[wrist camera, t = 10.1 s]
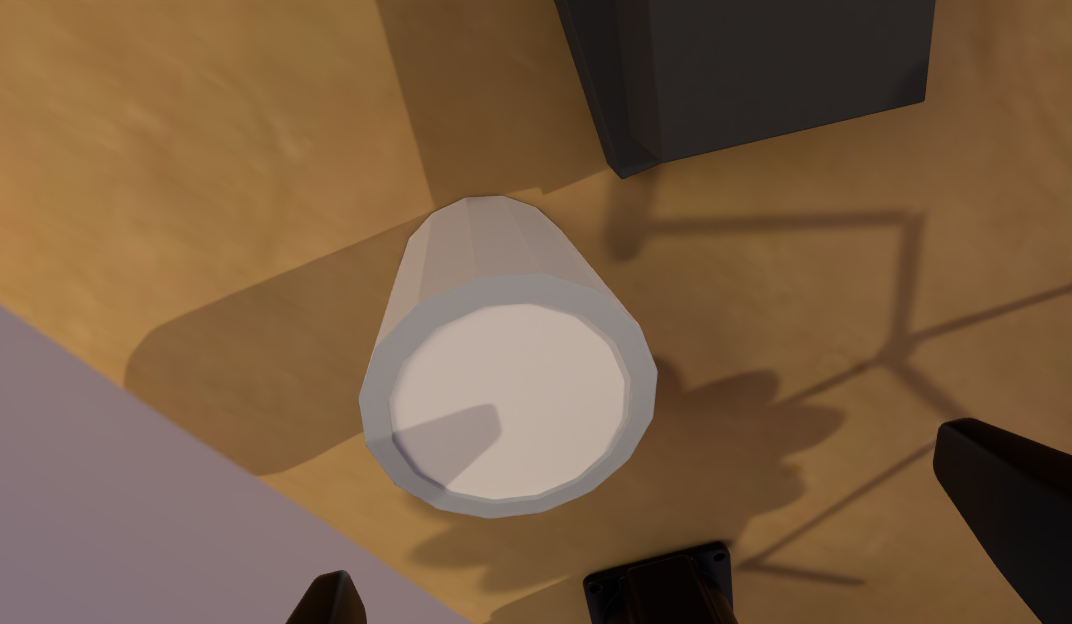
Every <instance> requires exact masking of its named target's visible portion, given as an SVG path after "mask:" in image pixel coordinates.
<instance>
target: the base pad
mask: <svg viewBox="0 0 1072 624" xmlns="http://www.w3.org/2000/svg"><path fill="white" fill-rule="evenodd" d="M554 1H555V4H556V8H557V11H558V14H559V17H560V20H561V23H562V26H563V29H564V32H565V35H566V38H567V41H568V44H569V47H570V50H571V54H572V57H573V60H574V63H575V66H576V69H577V72H578V75H579V78H580V81H581V84H582V87H583V90H584V93H585V96H586V99H587V103H588V106H589V109H590V112H591V115H592V118H593V121H594V124H595V127H596V130H597V133H598V136H599V139H600V142H601V145H602V149H603V152H604V155H605V158H606V161H607V164H608V165H609V166H610V167H611V168H612V169H613V170H614V171H615V173H616V174H617V175H618V176H619V177H620V178H621V179H625V178H627V177H629V176H632V175H634V174H637V173H639V172H641V171H644V170H646V169H648V168H651V167H653V166H656V165H658V164H660V163H663V162H661V161H660V160H659V159H658V158H657V157H656V156H654V155H653V154H652V153H651V152H650V151H649V150H647V149H646V148H645V147H644V146H643V145H642V144H640V143H639V142H638V141H637V140H636V139H634V138H633V137H632V136H631V135H630V128H629V119H628V111H627V102H626V94H625V85H624V76H623V68H622V59H621V51H620V42H619V34H618V25H617V16H616V8H615V0H554Z"/></svg>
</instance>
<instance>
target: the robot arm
mask: <svg viewBox="0 0 1072 624" xmlns="http://www.w3.org/2000/svg"><path fill="white" fill-rule="evenodd" d="M933 469H934V473H935V475H936V477H937V479H938V481H939V483H940V484H941V486H942V487H943V488H944V490H945V491H946V493H947V494H948V496H949V497H950V499H951V500H952V502H953V503H954V505H955V506H956V508H957V509H958V511H959V512H960V514H961V515H962V517H963V518H964V520H965V521H966V523H967V524H968V526H969V527H970V529H971V530H972V532H973V533H974V535H975V536H976V538H977V539H978V541H979V542H980V544H981V545H982V547H983V548H984V549H985V551H986V552H987V554H988V555H989V557H990V558H991V560H992V561H993V562H994V564H995V565H996V567H997V568H998V569H999V571H1000V572H1001V573H1002V574H1003V576H1004V577H1005V578H1006V580H1007V581H1008V582H1009V583H1010V585H1011V586H1012V587H1013V588H1014V590H1015V591H1016V592H1017V593H1018V594H1019V596H1020V597H1021V598H1022V599H1023V600H1024V602H1025V603H1026V604H1027V605H1028V607H1029V608H1030V609H1031V610H1032V611H1033V613H1034V614H1035V615H1036V616H1037V618H1038V619H1039V620H1040V621H1041V622H1042V624H1072V455H1070V454H1067V453H1064V452H1062V451H1059V450H1056V449H1054V448H1051V447H1048V446H1046V445H1043V444H1040V443H1038V442H1035V441H1033V440H1030V439H1027V438H1025V437H1022V436H1019V435H1017V434H1014V433H1011V432H1009V431H1006V430H1003V429H1001V428H998V427H995V426H993V425H990V424H988V423H985V422H982V421H980V420H977V419H974V418H961V419H957V420H953V421H949V422H945V423H943V424H942V425H941V426H940V427H939V429H938V434H937V440H936V446H935V452H934V458H933ZM583 587H584V592H585V596H586V600H587V605H588V609H589V613H590V618H591V622H592V624H738V622H737V620H736V618H735V615H734V613H733V597H732V579H731V561H730V553H729V550H728V549H727V547H726V545H725V544H724V543H723V542H714V543H710V544H706V545H702V546H698V547H695V548H691V549H687V550H683V551H679V552H675V553H671V554H668V555H664V556H660V557H656V558H652V559H648V560H644V561H641V562H637V563H633V564H629V565H625V566H621V567H617V568H614V569H610V570H606V571H602V572H598V573H594V574H591V575H589V576H587V577H586V578H585V579H584V581H583ZM286 624H367V619H366V612H365V608H364V605H363V603H362V601H361V599H360V596H359V594H358V592H357V590H356V588H355V586H354V584H353V581H352V579H351V577H350V575H349V574H348V573H347V572H346V571H344V570H340V571H335V572H332V573H327V574H323V575H320V576H318V577H317V578H316V579H315V580H314V581H313V582H312V584H311V586H310V587H309V588H308V590H307V591H306V593H305V594H304V596H303V598H302V599H301V601H300V602H299V604H298V605H297V607H296V608H295V610H294V611H293V613H292V614H291V616H290V617H289V619H288V621H287V622H286Z"/></svg>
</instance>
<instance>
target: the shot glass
mask: <svg viewBox="0 0 1072 624" xmlns="http://www.w3.org/2000/svg"><path fill="white" fill-rule="evenodd" d="M657 374H658V371H657V368H656V365H655V363H654V360H653V358H652V355H651V353H650V350H649V348H648V345H647V343H646V340H645V338H644V335H643V332H642V330H641V327H640V326H639V324H638V323H637V322H636V321H635V320H634V318H633V317H632V316H631V315H630V313H629V312H628V311H627V310H626V309H625V307H624V306H623V305H622V304H621V303H620V301H619V300H618V299H617V298H616V296H615V295H614V294H613V293H612V292H611V290H610V289H609V288H608V287H607V285H606V284H605V283H604V282H603V281H602V279H601V278H600V277H599V276H598V275H597V273H596V272H595V271H594V270H593V268H592V267H591V266H590V265H589V264H588V262H587V261H586V260H585V259H584V258H583V256H582V255H581V254H580V253H579V251H578V250H577V249H576V248H575V247H574V245H573V244H572V243H571V242H570V241H569V239H568V238H567V237H566V236H565V234H564V233H563V232H562V231H561V230H560V229H559V228H558V227H557V226H556V225H555V224H554V223H553V222H552V221H551V220H549V219H548V218H547V217H546V216H545V215H544V214H543V213H542V212H541V211H539V210H538V209H537V208H536V207H534V206H531V205H528V204H525V203H522V202H520V201H517V200H514V199H511V198H508V197H505V196H485V197H466V198H464V199H461V200H459V201H457V202H455V203H453V204H451V205H448V206H446V207H444V208H442V209H440V210H438V211H435V212H433V213H432V214H431V215H430V216H429V217H428V218H427V219H426V220H425V222H424V223H423V224H422V225H421V226H420V227H419V228H418V229H417V230H416V231H415V232H414V234H413V235H412V236H411V237H410V238H409V240H408V243H407V246H406V249H405V252H404V255H403V258H402V261H401V264H400V267H399V270H398V273H397V276H396V279H395V282H394V286H393V289H392V292H391V295H390V298H389V302H388V305H387V308H386V311H385V314H384V318H383V321H382V324H381V327H380V330H379V334H378V337H377V340H376V343H375V346H374V350H373V353H372V356H371V359H370V362H369V366H368V369H367V372H366V375H365V378H364V382H363V385H362V388H361V391H360V394H359V398H358V399H359V405H360V411H361V417H362V423H363V429H364V435H365V441H366V446H367V448H368V449H369V450H370V452H371V453H372V454H373V456H374V457H375V458H376V460H377V461H378V462H379V464H380V465H381V466H382V468H383V469H384V470H385V472H386V473H387V474H388V476H389V477H390V478H391V480H392V481H393V482H394V484H395V485H397V486H398V487H400V488H402V489H404V490H405V491H407V492H409V493H411V494H412V495H414V496H416V497H418V498H419V499H421V500H423V501H425V502H426V503H428V504H430V505H432V506H433V507H435V508H437V509H439V510H445V511H450V512H456V513H461V514H467V515H472V516H478V517H483V518H489V519H491V518H500V517H509V516H517V515H526V514H534V513H542V512H545V511H547V510H549V509H552V508H554V507H557V506H559V505H561V504H564V503H566V502H568V501H571V500H573V499H575V498H578V497H580V496H583V495H585V494H587V493H590V492H591V491H592V490H594V489H595V488H596V487H597V486H598V485H599V484H601V483H602V482H603V481H604V480H605V479H607V478H608V477H609V476H610V475H611V474H612V473H614V472H615V471H616V470H617V469H618V468H620V467H621V466H622V465H623V464H624V463H625V462H627V461H628V460H629V459H630V457H631V455H632V453H633V452H634V450H635V448H636V446H637V445H638V443H639V441H640V439H641V438H642V436H643V434H644V433H645V431H646V429H647V427H648V426H649V424H650V422H651V420H652V419H653V413H654V403H655V393H656V383H657Z"/></svg>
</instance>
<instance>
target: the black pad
mask: <svg viewBox="0 0 1072 624" xmlns="http://www.w3.org/2000/svg"><path fill="white" fill-rule="evenodd" d="M615 8H616V16H617V25H618V34H619V42H620V51H621V59H622V68H623V76H624V85H625V94H626V102H627V111H628V119H629V128H630V135H631V136H632V137H633V138H634V139H636V140H637V141H638V142H639V143H640V144H642V145H643V146H644V147H645V148H646V149H647V150H649V151H650V152H651V153H652V154H653V155H654V156H656V157H657V158H658V159H659V160H660V161H661V162H663V163H666V162H670V161H674V160H678V159H683V158H687V157H691V156H695V155H700V154H704V153H708V152H712V151H717V150H721V149H725V148H729V147H734V146H738V145H742V144H746V143H751V142H755V141H759V140H763V139H768V138H772V137H776V136H780V135H784V134H789V133H793V132H797V131H801V130H806V129H810V128H814V127H818V126H823V125H827V124H831V123H835V122H840V121H844V120H848V119H852V118H857V117H861V116H865V115H869V114H874V113H878V112H882V111H886V110H891V109H895V108H899V107H903V106H908V105H912V104H916V103H920V102H923V101H924V100H925V92H926V83H927V73H928V64H929V55H930V46H931V36H932V27H933V18H934V9H935V0H615Z"/></svg>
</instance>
